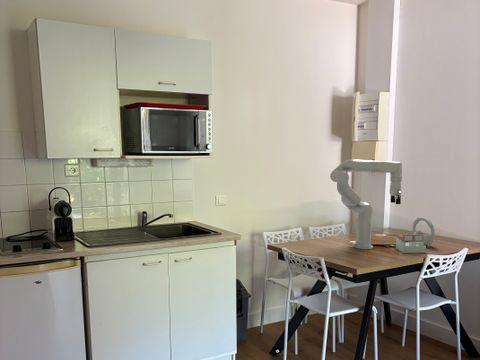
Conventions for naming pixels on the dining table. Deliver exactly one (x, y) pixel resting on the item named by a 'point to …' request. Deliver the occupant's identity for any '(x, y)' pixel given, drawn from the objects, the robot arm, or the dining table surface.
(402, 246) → the stand
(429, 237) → the headphones
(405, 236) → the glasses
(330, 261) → the dining table surface
